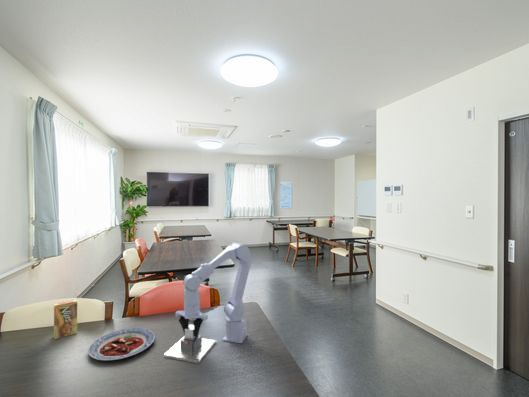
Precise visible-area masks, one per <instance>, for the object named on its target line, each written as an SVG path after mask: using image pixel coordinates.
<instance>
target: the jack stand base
mask: <svg viewBox="0 0 529 397" xmlns="http://www.w3.org/2000/svg"><path fill="white" fill-rule="evenodd" d="M202 336H203V335H201V334H200V333H199V334H198V337H197V338H196V339H195V340H194V341H188V340H185V335H184V336H183V337H181V338H180V339H179V340H178V341H176V343H175V344H174V345H173V346H171V347H170V348H169V349H168V350H167V351H166V352H164V354H163V357H164V358H167V359H173V360H179V361H183V362H188V363H189V362H190V363H196V364H200V363H201V361H202V360H203V358H205V357H206V356H207V354H208V353H209V352H210V350H211V349H212V348H214V346H215V345H216V343H217V339H210V338H205V337H202Z"/></svg>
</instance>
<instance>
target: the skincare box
mask: <svg viewBox="0 0 529 397" xmlns="http://www.w3.org/2000/svg"><path fill="white" fill-rule="evenodd" d="M200 295H201V294H200V290H198V312H201V299H200V298H201V297H200ZM183 311H185V289H184V290H183ZM194 320H196V319H195V318H189V321H192V322H193V321H194Z"/></svg>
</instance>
